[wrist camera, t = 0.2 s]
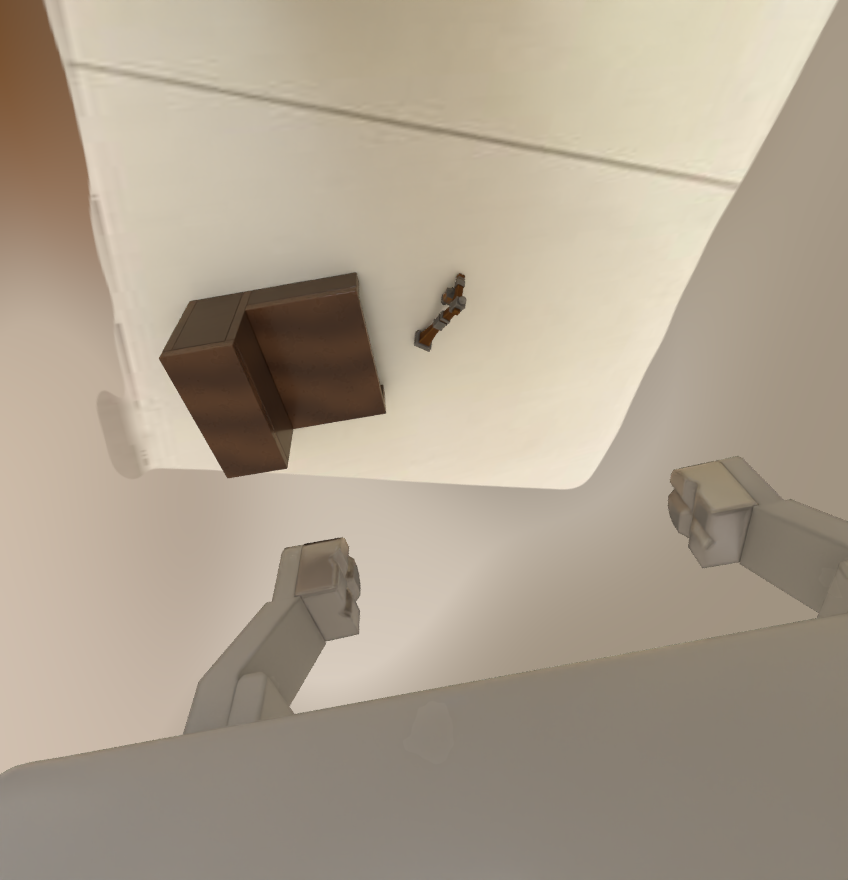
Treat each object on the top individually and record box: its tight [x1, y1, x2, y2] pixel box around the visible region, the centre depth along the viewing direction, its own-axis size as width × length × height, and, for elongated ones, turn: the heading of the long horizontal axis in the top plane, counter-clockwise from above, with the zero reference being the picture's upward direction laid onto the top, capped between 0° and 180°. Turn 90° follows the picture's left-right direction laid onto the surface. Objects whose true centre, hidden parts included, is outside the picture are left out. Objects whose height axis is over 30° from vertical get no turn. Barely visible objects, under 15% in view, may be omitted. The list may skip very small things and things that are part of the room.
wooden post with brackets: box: [414, 273, 466, 352], centre depth 50 cm, size 2×8×4 cm, turn 151°
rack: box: [159, 273, 386, 478], centre depth 49 cm, size 14×16×10 cm
